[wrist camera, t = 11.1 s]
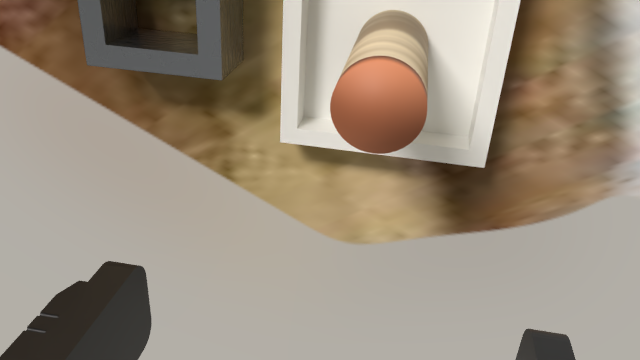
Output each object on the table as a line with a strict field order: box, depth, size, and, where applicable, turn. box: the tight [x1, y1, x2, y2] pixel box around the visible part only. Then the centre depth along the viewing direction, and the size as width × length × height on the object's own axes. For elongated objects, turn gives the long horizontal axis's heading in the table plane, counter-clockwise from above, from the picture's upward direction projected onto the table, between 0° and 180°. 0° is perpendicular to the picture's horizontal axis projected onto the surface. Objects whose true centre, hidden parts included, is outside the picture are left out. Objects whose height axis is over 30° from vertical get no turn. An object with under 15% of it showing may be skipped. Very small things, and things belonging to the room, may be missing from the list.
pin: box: [330, 10, 428, 154], centre depth 28 cm, size 4×4×10 cm
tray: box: [280, 0, 521, 168], centre depth 32 cm, size 12×12×2 cm
